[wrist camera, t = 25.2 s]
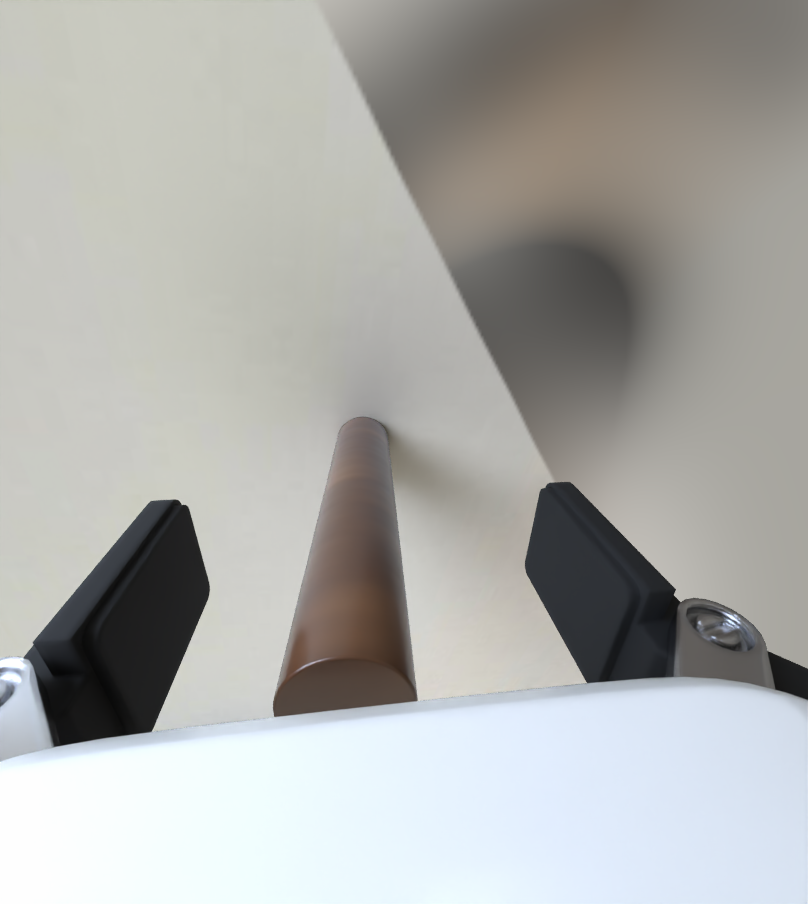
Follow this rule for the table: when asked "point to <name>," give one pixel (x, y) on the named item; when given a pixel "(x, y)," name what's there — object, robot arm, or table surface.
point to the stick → (351, 590)
